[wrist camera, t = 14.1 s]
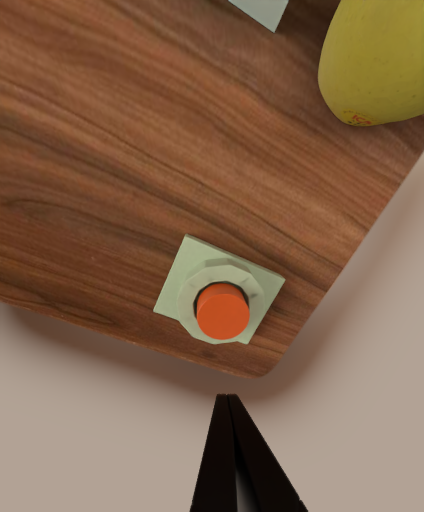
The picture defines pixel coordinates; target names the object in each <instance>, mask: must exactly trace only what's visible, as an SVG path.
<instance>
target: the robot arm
mask: <svg viewBox="0 0 424 512" xmlns="http://www.w3.org/2000/svg"><path fill="white" fill-rule="evenodd" d="M190 512H308V510H307V509H306V507H305V505H304V504H303V502H302V501H301V500H300V498H299V496H298V494H297V492H296V491H295V489H294V487H293V486H292V484H291V482H290V481H289V479H288V477H287V476H286V474H285V473H284V471H283V469H282V468H281V466H280V464H279V463H278V461H277V459H276V458H275V456H274V454H273V453H272V451H271V449H270V448H269V446H268V445H267V443H266V441H265V440H264V438H263V436H262V435H261V433H260V432H259V430H258V428H257V427H256V425H255V423H254V422H253V420H252V419H251V417H250V415H249V413H248V412H247V411H246V408H245V407H244V406H243V404H242V402H241V400H240V399H239V397H238V396H237V395H236V394H228V395H226V394H217V396H216V401H215V405H214V409H213V414H212V418H211V422H210V426H209V431H208V435H207V440H206V444H205V448H204V452H203V457H202V461H201V465H200V470H199V474H198V478H197V482H196V487H195V491H194V495H193V500H192V505H191V508H190Z"/></svg>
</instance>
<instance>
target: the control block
mask: <svg viewBox="0 0 424 512" xmlns="http://www.w3.org/2000/svg"><path fill="white" fill-rule="evenodd" d="M284 282H285V279H284V278H283V277H282V276H281V275H280V274H278V273H276V272H273V271H271V270H269V269H267V268H264V267H262V266H260V265H257V264H255V263H253V262H251V261H248V260H246V259H244V258H241V257H239V256H237V255H235V254H232V253H230V252H228V251H225V250H223V249H221V248H219V247H216V246H214V245H212V244H210V243H207V242H205V241H203V240H200V239H198V238H196V237H194V236H191V235H189V234H186V235H185V237H184V239H183V242H182V244H181V246H180V249H179V251H178V253H177V256H176V258H175V260H174V263H173V265H172V267H171V270H170V272H169V274H168V277H167V279H166V281H165V284H164V286H163V288H162V291H161V293H160V295H159V298H158V300H157V302H156V305H155V307H154V310H153V311H154V312H156V313H159V314H162V315H165V316H168V317H171V318H173V319H176V320H179V321H180V323H181V324H182V325H183V326H184V327H185V329H186V330H187V331H188V332H189V333H190V334H191V335H192V336H193V337H194V338H197V339H200V340H203V341H206V342H209V343H212V344H219V343H227V342H235V341H238V342H241V343H244V344H248V342H249V340H250V339H251V337H252V335H253V334H254V332H255V330H256V329H257V327H258V325H259V324H260V322H261V320H262V319H263V317H264V315H265V314H266V312H267V310H268V308H269V307H270V305H271V303H272V302H273V300H274V298H275V297H276V295H277V293H278V292H279V290H280V288H281V287H282V285H283V283H284ZM218 283H226V284H230V285H233V286H235V287H236V288H237V289H239V291H240V292H241V293H242V295H243V297H244V299H245V301H246V304H247V306H248V308H249V312H250V318H249V322H248V325H247V327H246V328H245V329H244V331H243V332H242V333H240V334H239V335H238V336H236V337H234V338H231V339H226V340H218V339H213V338H211V337H209V336H207V335H206V334H204V333H203V332H202V330H201V329H200V327H199V325H198V322H197V302H198V299H199V296H200V295H201V293H202V292H203V291H204V290H205V289H206V288H208V287H209V286H211V285H214V284H218Z"/></svg>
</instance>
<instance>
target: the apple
mask: <svg viewBox="0 0 424 512" xmlns="http://www.w3.org/2000/svg"><path fill="white" fill-rule="evenodd" d="M318 83H319V87H320V91H321V94H322V96H323V98H324V100H325V102H326V104H327V105H328V107H329V108H330V110H331V111H332V112H333V114H334V115H335V116H336V117H337V118H338V119H340V120H341V121H342V122H344V123H346V124H349V125H353V126H372V125H378V124H384V123H389V122H395V121H403V120H406V119H409V118H412V117H416V116H419V115H422V114H424V0H341V2H340V4H339V6H338V8H337V10H336V12H335V14H334V17H333V19H332V21H331V24H330V26H329V29H328V32H327V35H326V38H325V41H324V44H323V48H322V52H321V58H320V63H319V71H318Z"/></svg>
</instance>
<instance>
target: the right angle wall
mask: <svg viewBox="0 0 424 512" xmlns="http://www.w3.org/2000/svg"><path fill="white" fill-rule="evenodd" d="M228 1H230V2H231V3H232V4H234V5H235V6H237V7H238V8H239V9H241V10H242V11H244V12H245V13H247V14H248V15H249V16H251V17H252V18H254V19H255V20H256V21H258V22H259V23H261V24H262V25H264V26H265V27H266V28H268V29H269V30H271V31H272V32H273V33H274V32H275V30H276V28H277V26H278V23H279V21H280V19H281V17H282V14H283V12H284V10H285V8H286V5H287V3H288V1H289V0H228Z"/></svg>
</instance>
